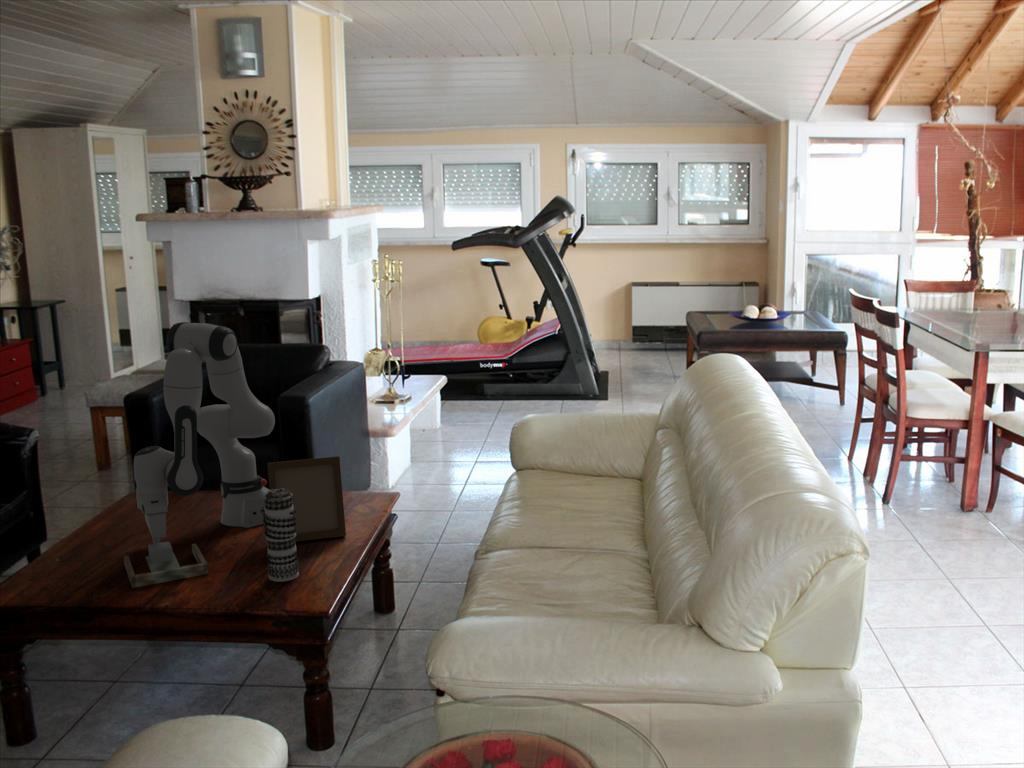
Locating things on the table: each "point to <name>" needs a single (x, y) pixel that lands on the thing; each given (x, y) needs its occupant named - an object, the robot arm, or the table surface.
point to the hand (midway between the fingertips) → (156, 544)
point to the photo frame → (312, 495)
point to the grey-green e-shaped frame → (167, 570)
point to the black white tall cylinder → (280, 535)
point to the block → (160, 552)
